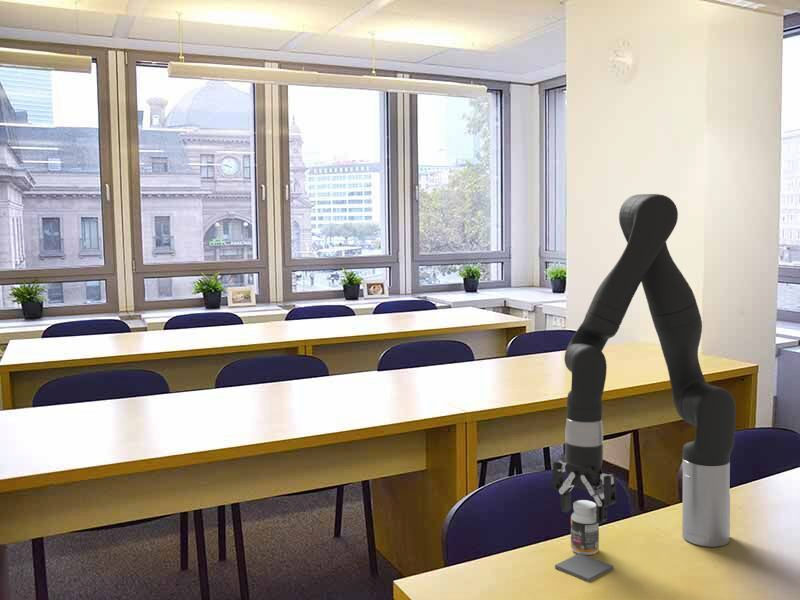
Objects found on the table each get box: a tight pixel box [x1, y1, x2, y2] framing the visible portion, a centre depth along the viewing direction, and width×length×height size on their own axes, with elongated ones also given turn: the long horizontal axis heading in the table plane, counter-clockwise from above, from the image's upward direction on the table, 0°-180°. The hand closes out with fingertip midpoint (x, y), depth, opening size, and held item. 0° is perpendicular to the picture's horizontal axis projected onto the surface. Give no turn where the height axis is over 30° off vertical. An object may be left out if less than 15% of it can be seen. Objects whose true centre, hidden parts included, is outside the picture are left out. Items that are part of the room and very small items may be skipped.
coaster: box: [554, 553, 615, 582], centre depth 146 cm, size 8×8×1 cm
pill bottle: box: [570, 499, 600, 556], centre depth 154 cm, size 6×6×10 cm
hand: (583, 516), depth 154 cm, fingers open, 8 cm apart
